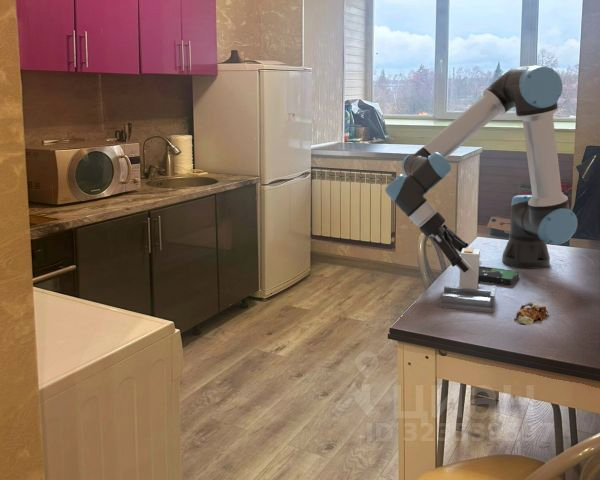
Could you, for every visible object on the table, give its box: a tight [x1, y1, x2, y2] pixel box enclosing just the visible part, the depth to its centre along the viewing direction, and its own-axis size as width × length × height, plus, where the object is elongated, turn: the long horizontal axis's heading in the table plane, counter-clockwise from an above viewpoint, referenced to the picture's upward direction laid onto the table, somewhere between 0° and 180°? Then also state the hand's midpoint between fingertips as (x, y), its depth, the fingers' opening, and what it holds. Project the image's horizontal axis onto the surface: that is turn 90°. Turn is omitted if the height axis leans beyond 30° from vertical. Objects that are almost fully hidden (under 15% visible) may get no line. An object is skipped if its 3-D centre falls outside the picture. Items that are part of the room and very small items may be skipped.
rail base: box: [439, 284, 497, 314], centre depth 180 cm, size 14×12×4 cm
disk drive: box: [478, 265, 520, 287], centre depth 202 cm, size 10×3×15 cm
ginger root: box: [513, 301, 549, 326], centre depth 169 cm, size 7×12×4 cm, turn 149°
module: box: [458, 247, 481, 289], centre depth 193 cm, size 5×6×11 cm
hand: (476, 272), depth 193 cm, fingers open, 13 cm apart
